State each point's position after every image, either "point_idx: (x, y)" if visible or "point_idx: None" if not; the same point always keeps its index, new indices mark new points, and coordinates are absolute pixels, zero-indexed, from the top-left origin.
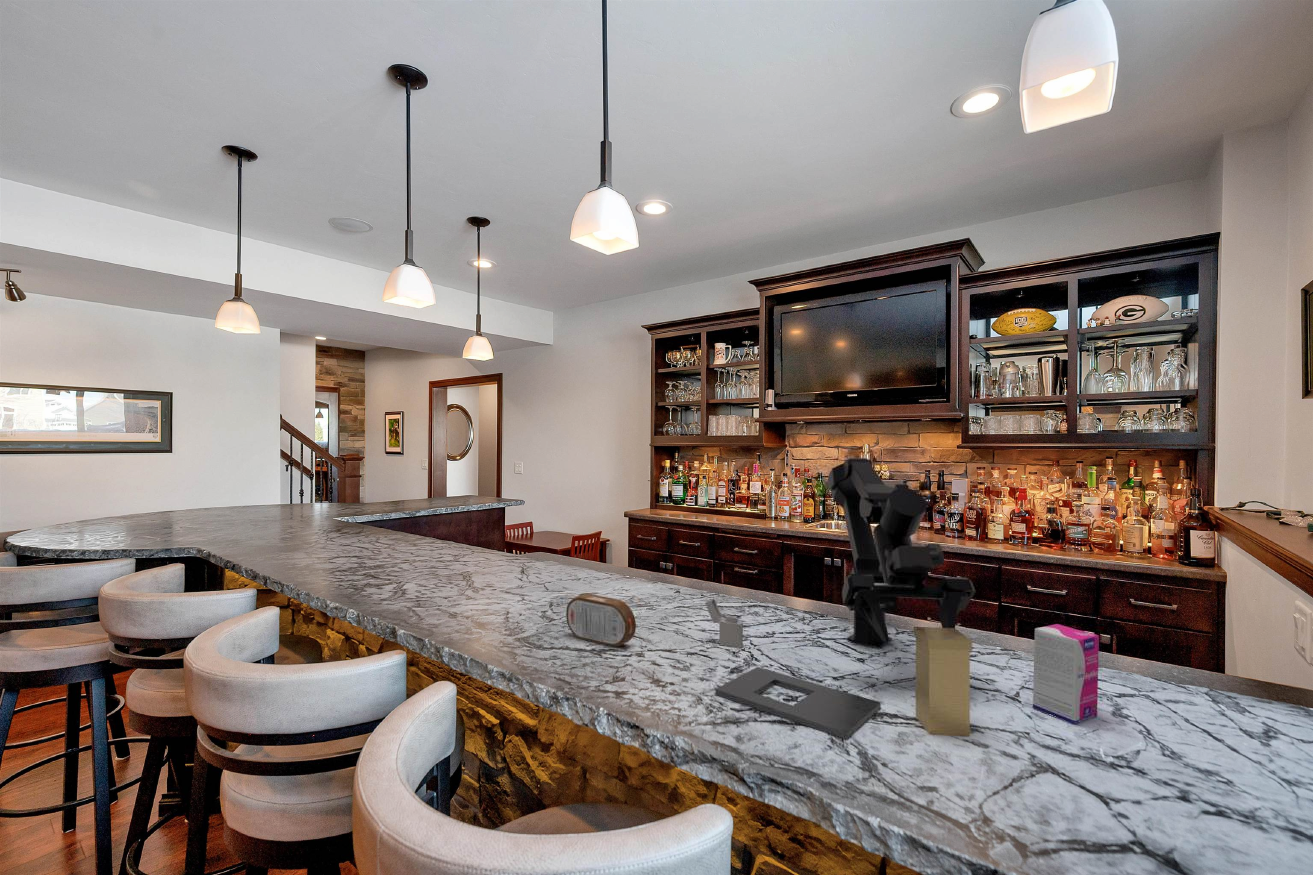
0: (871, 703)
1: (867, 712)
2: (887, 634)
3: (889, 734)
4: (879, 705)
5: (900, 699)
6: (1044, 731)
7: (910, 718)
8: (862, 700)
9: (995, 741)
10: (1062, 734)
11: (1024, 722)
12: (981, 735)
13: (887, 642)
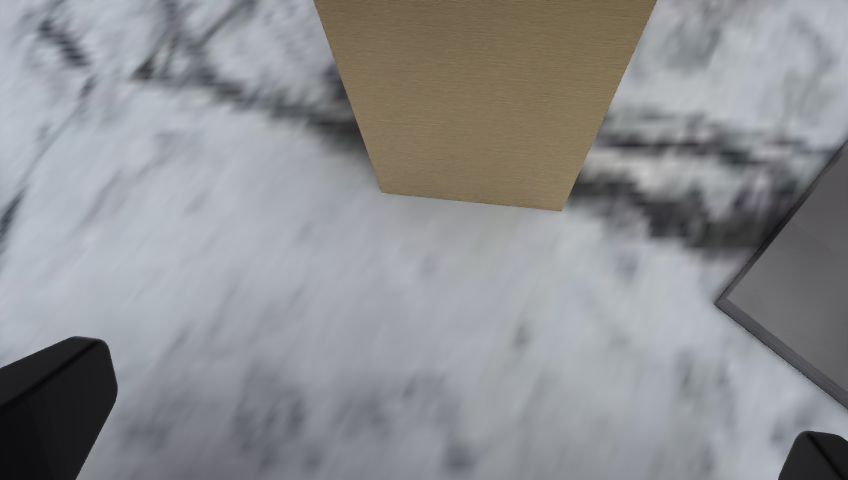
0: (785, 282)
1: (837, 173)
2: (843, 467)
3: (754, 45)
4: (732, 288)
5: (558, 417)
6: (61, 85)
7: (596, 191)
8: (831, 319)
9: None
10: (10, 63)
11: (79, 160)
12: None
13: (788, 462)
